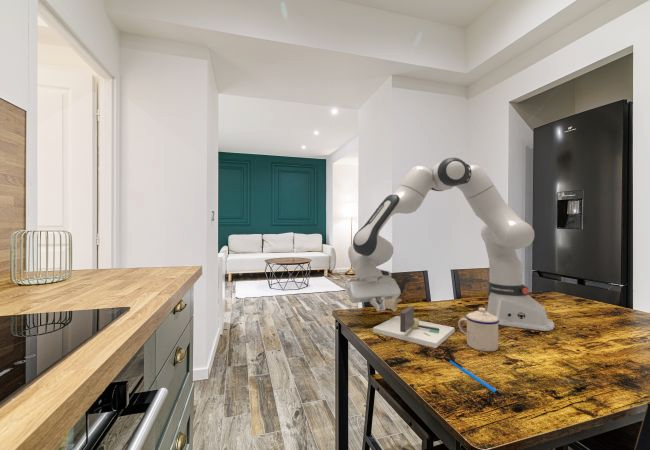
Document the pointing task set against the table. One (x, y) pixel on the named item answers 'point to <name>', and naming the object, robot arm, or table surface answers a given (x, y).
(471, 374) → the pen
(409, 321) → the tuning peg
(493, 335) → the teacup with lid
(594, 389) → the table surface
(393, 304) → the decorative ornament
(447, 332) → the white rectangular slab
